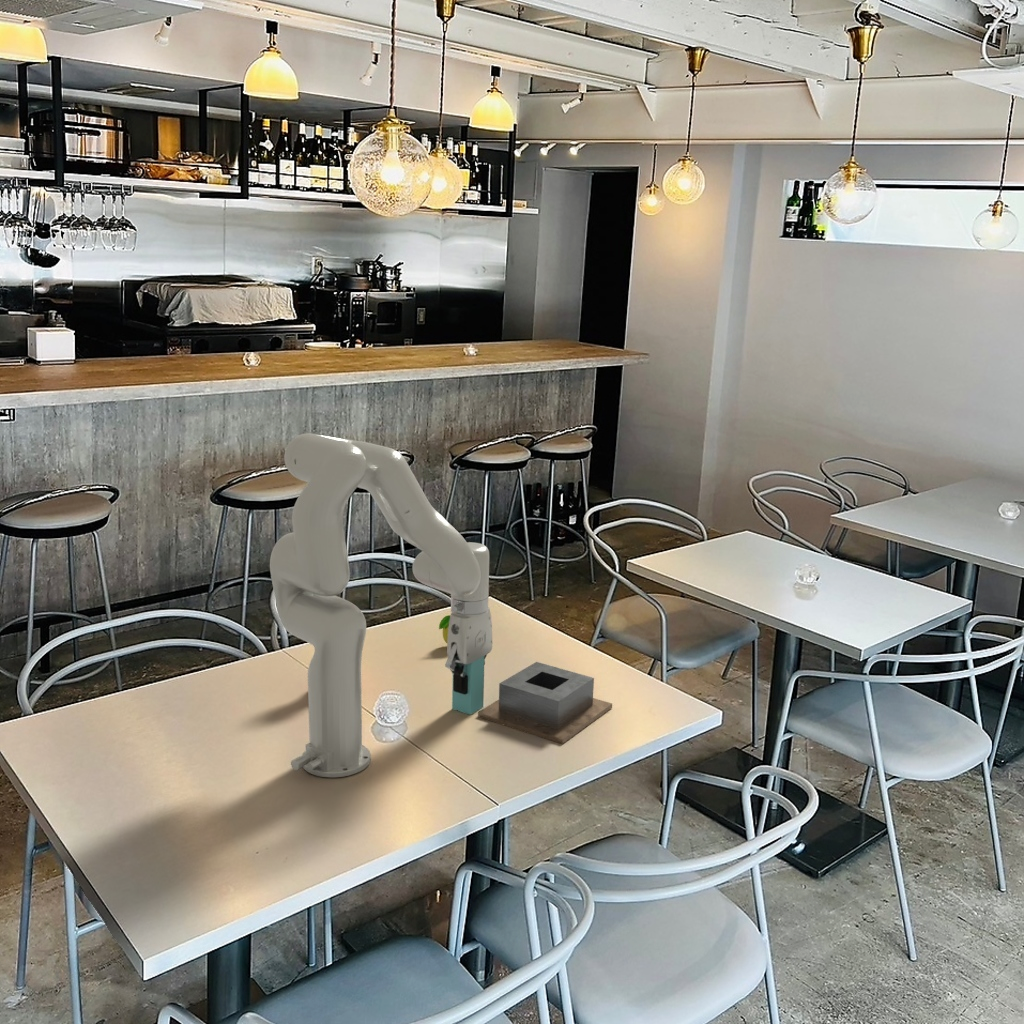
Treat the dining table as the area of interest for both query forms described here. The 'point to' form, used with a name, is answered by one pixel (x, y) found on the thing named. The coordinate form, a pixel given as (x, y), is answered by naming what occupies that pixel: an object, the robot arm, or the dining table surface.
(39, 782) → the dining table surface
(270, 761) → the dining table surface
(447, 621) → the lemon
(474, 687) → the teal post
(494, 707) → the well
